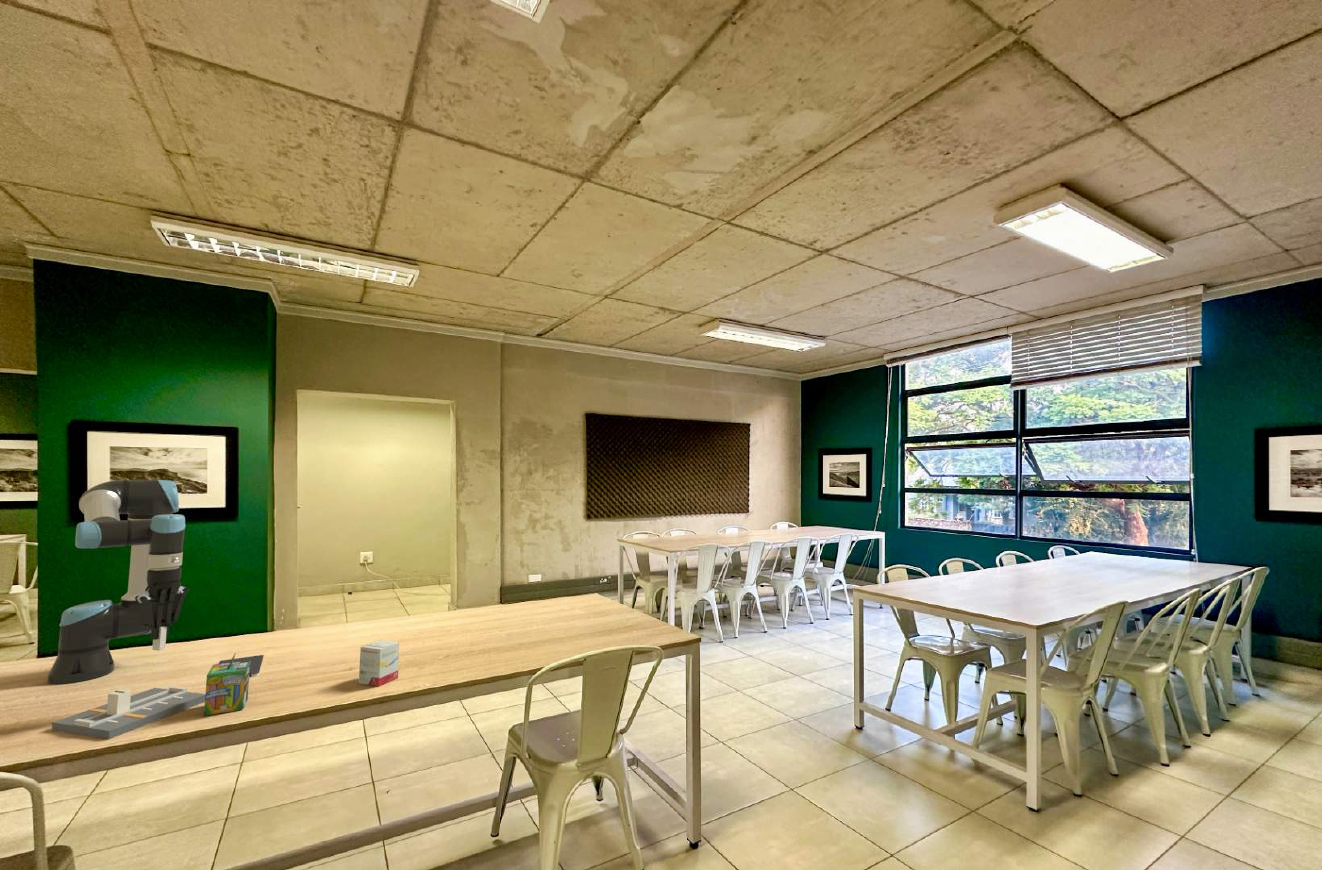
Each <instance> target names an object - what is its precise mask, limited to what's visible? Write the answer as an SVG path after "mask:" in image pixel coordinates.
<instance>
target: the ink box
mask: <svg viewBox="0 0 1322 870" xmlns="http://www.w3.org/2000/svg"><path fill="white" fill-rule="evenodd" d="M359 653H360V654H359V671H358V673H359V674H358V684H361V685H367V686H376V687H381V686H383V685H385V684H387V683H390V682H392V681H394V680H396V679H398V678H399V661H400V659H399V658H400V657H399V656H400V642H397V641H389V640H383V639H380V640H378V641H377V640H376V641H374V642H371V643H368V644H365V645H362V646H360V651H359Z"/></svg>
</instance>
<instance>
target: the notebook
mask: <svg viewBox="0 0 1322 870" xmlns="http://www.w3.org/2000/svg"><path fill="white" fill-rule="evenodd" d="M264 657H265V655H264V654H259V655H252V656H245V657H244V656H243V657H237V658H234V660H233V662H242V661H251V664H250V675H249V678H251V677H258V676H259V675H260V671H261V668H262V665H263V664H262V663H263V661H264ZM231 660H232V658H229V659H223V660H219V661H218V664H224V663H230V662H231Z"/></svg>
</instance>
